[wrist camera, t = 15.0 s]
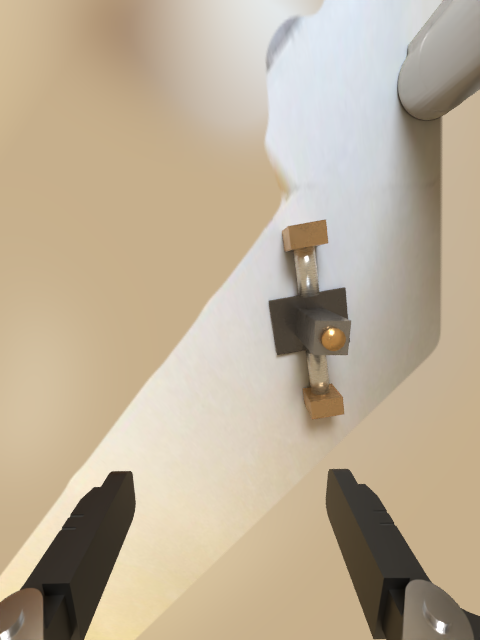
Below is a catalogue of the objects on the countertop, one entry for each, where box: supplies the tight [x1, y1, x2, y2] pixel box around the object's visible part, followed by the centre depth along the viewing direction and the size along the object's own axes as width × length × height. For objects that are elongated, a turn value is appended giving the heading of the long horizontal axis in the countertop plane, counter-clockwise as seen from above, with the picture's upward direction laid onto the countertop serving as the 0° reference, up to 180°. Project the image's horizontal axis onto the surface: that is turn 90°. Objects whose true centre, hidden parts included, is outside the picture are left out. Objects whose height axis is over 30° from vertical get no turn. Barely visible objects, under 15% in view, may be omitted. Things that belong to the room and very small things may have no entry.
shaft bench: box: [269, 220, 350, 419], centre depth 37 cm, size 29×12×4 cm, turn 10°
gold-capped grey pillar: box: [296, 309, 351, 355], centre depth 34 cm, size 4×4×10 cm
